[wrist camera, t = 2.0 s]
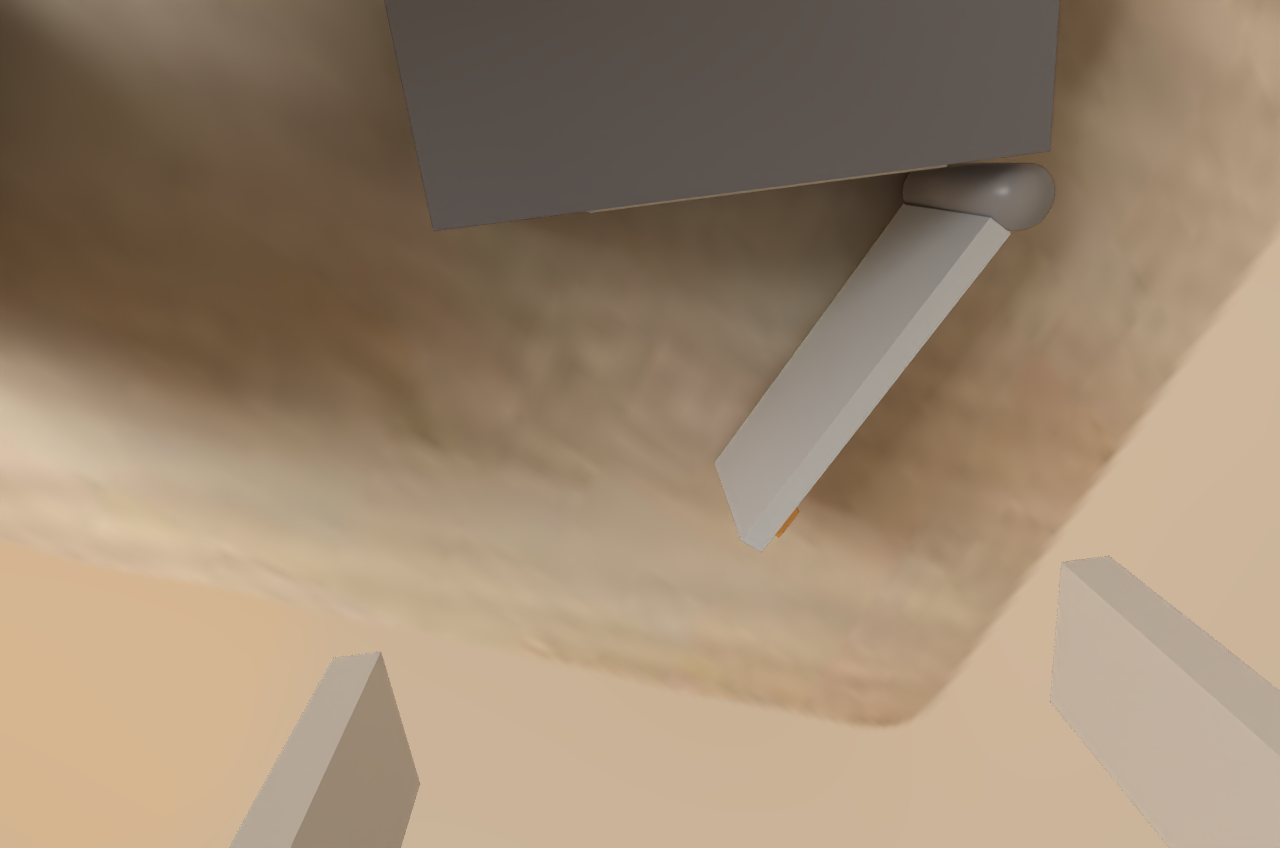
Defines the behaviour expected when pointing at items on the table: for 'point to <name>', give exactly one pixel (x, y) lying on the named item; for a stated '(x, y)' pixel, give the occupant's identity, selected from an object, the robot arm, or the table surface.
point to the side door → (873, 333)
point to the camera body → (708, 96)
